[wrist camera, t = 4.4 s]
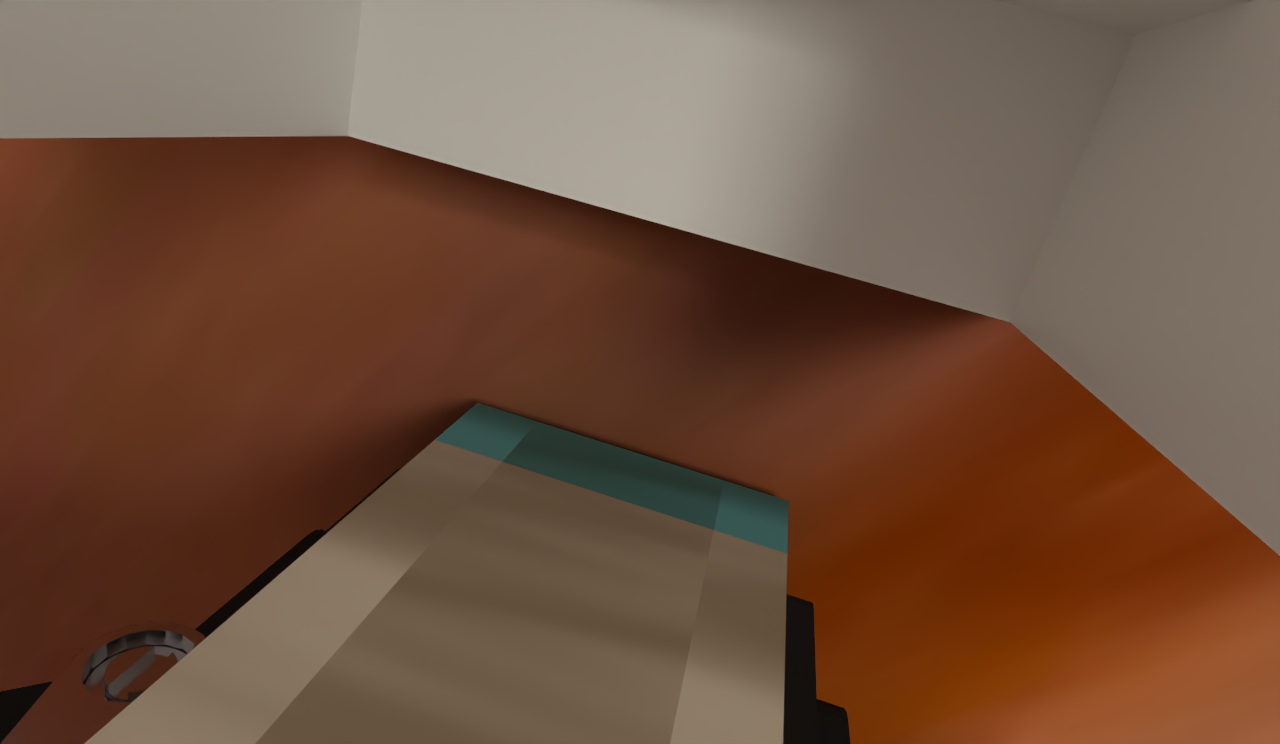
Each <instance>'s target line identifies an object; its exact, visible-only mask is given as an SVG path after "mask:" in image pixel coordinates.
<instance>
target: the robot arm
mask: <svg viewBox="0 0 1280 744" xmlns="http://www.w3.org/2000/svg"><path fill="white" fill-rule="evenodd" d="M400 469H402V468H400ZM400 469H398V470H396V471H395V472H394V473H393V474H392V475H391V476H389V477H388V478H387V479H386V480H385V481H384V482H382V483H381V484H380V485H379V486H378V487H377V488H375V489H374V490H373V491H372V492H371V493H370V494H368V495H367V496H366V497H365V498H364V499H363V500H362V501H360V502H359V503H358V504H357V505H356V506H355V507H353V508H352V509H351V510H350V511H349V512H348V513H346V514H345V515H344V516H343V517H342V518H341V519H339V520H338V521H337V522H336V523H335V524H334V525H333V526H331V527H330V528H329V529H328V530H327V531H325V530H315V531H313V532H312V533H310V534H309V535H307V536H306V537H305V538H304V539H303V540H301V541H300V542H299V543H298V544H297V545H295V546H294V547H293V548H292V549H291V550H289V551H288V552H287V553H286V554H285V555H283V556H282V557H281V558H280V559H279V560H277V561H276V562H275V563H274V564H273V565H271V566H270V567H269V568H268V569H267V570H266V571H264V572H263V573H262V574H261V575H260V576H258V577H257V578H256V579H255V580H254V581H252V582H251V583H250V584H249V585H248V586H246V587H245V588H244V589H243V590H242V591H240V592H239V593H238V594H237V595H236V596H234V597H233V598H232V599H231V600H230V601H229V602H227V603H226V604H225V605H224V606H223V607H221V608H220V609H219V610H218V611H217V612H215V613H214V614H213V615H212V616H211V617H209V618H208V619H207V620H206V621H205V622H203V623H202V624H201V625H200V626H199V627H197V628H196V629H193V628H191V627H189V626H185V625H181V624H177V623H173V622H146V623H140V624H133V625H129V626H126V627H123V628H120V629H117V630H114V631H111V632H108V633H106V634H104V635H103V636H101V637H99V638H97V639H95V640H94V641H92V642H90V643H89V644H87V645H86V646H85V647H84V648H83V649H82V650H81V651H80V652H79V653H77V654H76V655H75V656H74V657H73V658H72V660H71V661H70V662H69V663H68V664H67V666H66V667H65V668H64V669H63V670H62V671H61V673H60V674H59V675H58V676H57V677H56V679H55V680H54V681H52V682H47V683H42V684H37V685H32V686H27V687H22V688H17V689H12V690H7V691H2V692H0V744H84V743H86V742H87V741H88V740H89V739H90V738H91V737H93V736H94V735H95V734H96V733H97V732H98V731H99V730H101V729H102V728H103V727H104V726H105V725H106V724H108V723H109V722H110V721H111V720H112V719H113V718H114V717H116V716H117V715H118V714H119V713H120V712H121V711H123V710H124V709H125V708H126V707H127V706H128V705H129V704H131V703H132V702H133V701H134V700H135V699H136V698H138V697H139V696H140V695H141V694H142V693H143V692H144V691H146V690H147V689H148V688H149V687H150V686H151V685H153V684H154V683H155V682H156V681H157V680H158V679H159V678H161V677H162V676H163V675H164V674H165V673H166V672H167V671H169V670H170V669H171V668H172V667H173V666H174V665H176V664H177V663H178V662H179V661H180V660H181V659H182V658H184V657H185V656H186V655H187V654H188V653H189V652H191V651H192V650H193V649H194V648H195V647H196V646H197V645H199V644H200V643H201V642H202V641H203V640H204V639H206V638H207V637H208V636H209V635H210V634H211V633H212V632H214V631H215V630H216V629H217V628H218V627H219V626H221V625H222V624H223V623H224V622H225V621H226V620H227V619H229V618H230V617H231V616H232V615H233V614H234V613H236V612H237V611H238V610H239V609H240V608H241V607H242V606H244V605H245V604H246V603H247V602H248V601H249V600H251V599H252V598H253V597H254V596H255V595H256V594H257V593H259V592H260V591H261V590H262V589H263V588H264V587H265V586H267V585H268V584H269V583H270V582H271V581H272V580H274V579H275V578H276V577H277V576H278V575H279V574H280V573H282V572H283V571H284V570H285V569H286V568H287V567H289V566H290V565H291V564H292V563H293V562H294V561H295V560H297V559H298V558H299V557H300V556H301V555H302V554H304V553H305V552H306V551H307V550H308V549H309V548H310V547H312V546H313V545H314V544H315V543H316V542H317V541H319V540H320V539H321V538H322V537H323V536H324V535H325V534H327V533H328V532H329V531H330V530H331V529H332V528H334V527H335V526H336V525H337V524H338V523H339V522H340V521H342V520H343V519H344V518H345V517H346V516H347V515H349V514H350V513H351V512H352V511H353V510H354V509H355V508H357V507H358V506H359V505H360V504H361V503H362V502H363V501H365V500H366V499H367V498H368V497H369V496H370V495H372V494H373V493H374V492H375V491H376V490H377V489H378V488H380V487H381V486H382V485H383V484H384V483H385V482H387V481H388V480H389V479H390V478H391V477H392V476H393V475H395V474H396V473H397V472H398V471H399V470H400ZM783 744H850V737H849V725H848V718H847V712H846V711H845V709H844V708H841V707H839V706H836V705H833V704H830V703H827V702H824V701H821V700H818V699H816V671H815V639H814V608H813V604H812V603H811V602H809V601H805V600H802V599H799V598H796V597H793V596H790V595H787V594H786V636H785V680H784V724H783Z"/></svg>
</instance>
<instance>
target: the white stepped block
mask: <svg viewBox="0 0 1280 744" xmlns="http://www.w3.org/2000/svg"><path fill="white" fill-rule="evenodd" d="M272 136H350V137H353V138H357V139H360V140H364V141H367V142H371V143H374V144H378V145H382V146H385V147H389V148H392V149H396V150H399V151H403V152H406V153H410V154H414V155H417V156H421V157H424V158H428V159H431V160H435V161H438V162H442V163H445V164H449V165H453V166H456V167H460V168H463V169H467V170H470V171H474V172H477V173H481V174H485V175H488V176H492V177H495V178H499V179H502V180H506V181H509V182H513V183H517V184H520V185H524V186H527V187H531V188H534V189H538V190H541V191H545V192H549V193H552V194H556V195H559V196H563V197H566V198H570V199H573V200H577V201H581V202H584V203H588V204H591V205H595V206H598V207H602V208H605V209H609V210H613V211H616V212H620V213H623V214H627V215H630V216H634V217H637V218H641V219H645V220H648V221H652V222H655V223H659V224H662V225H666V226H669V227H673V228H676V229H680V230H684V231H687V232H691V233H694V234H698V235H701V236H705V237H708V238H712V239H716V240H719V241H723V242H726V243H730V244H733V245H737V246H740V247H744V248H748V249H751V250H755V251H758V252H762V253H765V254H769V255H772V256H776V257H780V258H783V259H787V260H790V261H794V262H797V263H801V264H804V265H808V266H812V267H815V268H819V269H822V270H826V271H829V272H833V273H836V274H840V275H844V276H847V277H851V278H854V279H858V280H861V281H865V282H868V283H872V284H876V285H879V286H883V287H886V288H890V289H893V290H897V291H900V292H904V293H907V294H911V295H915V296H918V297H922V298H925V299H929V300H932V301H936V302H939V303H943V304H947V305H950V306H954V307H957V308H961V309H964V310H968V311H971V312H975V313H979V314H982V315H986V316H989V317H993V318H996V319H1000V320H1003V321H1007V322H1010V323H1011V324H1013V325H1014V326H1015V327H1016V328H1017V329H1018V330H1019V331H1021V332H1022V333H1023V334H1024V335H1025V336H1026V337H1028V338H1029V339H1030V340H1031V341H1032V342H1033V343H1035V344H1036V345H1037V346H1038V347H1039V348H1040V349H1041V350H1043V351H1044V352H1045V353H1046V354H1047V355H1048V356H1050V357H1051V358H1052V359H1053V360H1054V361H1055V362H1056V363H1058V364H1059V365H1060V366H1061V367H1062V368H1063V369H1065V370H1066V371H1067V372H1068V373H1069V374H1070V375H1071V376H1073V377H1074V378H1075V379H1076V380H1077V381H1078V382H1080V383H1081V384H1082V385H1083V386H1084V387H1085V388H1087V389H1088V390H1089V391H1090V392H1091V393H1092V394H1093V395H1095V396H1096V397H1097V398H1098V399H1099V400H1100V401H1102V402H1103V403H1104V404H1105V405H1106V406H1107V407H1108V408H1110V409H1111V410H1112V411H1113V412H1114V413H1115V414H1117V415H1118V416H1119V417H1120V418H1121V419H1122V420H1123V421H1125V422H1126V423H1127V424H1128V425H1129V426H1130V427H1132V428H1133V429H1134V430H1135V431H1136V432H1137V433H1139V434H1140V435H1141V436H1142V437H1143V438H1144V439H1145V440H1147V441H1148V442H1149V443H1150V444H1151V445H1152V446H1154V447H1155V448H1156V449H1157V450H1158V451H1159V452H1160V453H1162V454H1163V455H1164V456H1165V457H1166V458H1167V459H1169V460H1170V461H1171V462H1172V463H1173V464H1174V465H1175V466H1177V467H1178V468H1179V469H1180V470H1181V471H1182V472H1184V473H1185V474H1186V475H1187V476H1188V477H1189V478H1191V479H1192V480H1193V481H1194V482H1195V483H1196V484H1197V485H1199V486H1200V487H1201V488H1202V489H1203V490H1204V491H1206V492H1207V493H1208V494H1209V495H1210V496H1211V497H1212V498H1214V499H1215V500H1216V501H1217V502H1218V503H1219V504H1221V505H1222V506H1223V507H1224V508H1225V509H1226V510H1227V511H1229V512H1230V513H1231V514H1232V515H1233V516H1234V517H1236V518H1237V519H1238V520H1239V521H1240V522H1241V523H1243V524H1244V525H1245V526H1246V527H1247V528H1248V529H1249V530H1251V531H1252V532H1253V533H1254V534H1255V535H1256V536H1258V537H1259V538H1260V539H1261V540H1262V541H1263V542H1264V543H1266V544H1267V545H1268V546H1269V547H1270V548H1271V549H1273V550H1274V551H1275V552H1276V553H1277V554H1278V555H1279V556H1280V0H0V138H132V137H272Z"/></svg>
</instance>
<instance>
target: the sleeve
mask: <svg viewBox="0 0 1280 744" xmlns="http://www.w3.org/2000/svg"><path fill="white" fill-rule="evenodd" d="M788 504H789V501H787V500H784V499H781V498H778V497H775V496H771V495H768V494H765V493H762V492H759V491H756V490H752V489H749V488H746V487H743V486H740V485H737V484H733V483H730V482H727V481H724V480H721V479H718V478H714V477H711V476H708V475H705V474H702V473H699V472H695V471H692V470H689V469H686V468H683V467H680V466H676V465H673V464H670V463H667V462H664V461H661V460H657V459H654V458H651V457H648V456H645V455H642V454H638V453H635V452H632V451H629V450H626V449H623V448H620V447H616V446H613V445H610V444H607V443H604V442H601V441H597V440H594V439H591V438H588V437H585V436H582V435H578V434H575V433H572V432H569V431H566V430H563V429H559V428H556V427H553V426H550V425H547V424H544V423H540V422H537V421H534V420H531V419H528V418H525V417H521V416H518V415H515V414H512V413H509V412H506V411H502V410H499V409H496V408H493V407H490V406H487V405H483V404H480V403H476V404H475V405H474V406H473V407H472V408H471V409H470V410H468V411H467V412H466V413H465V414H464V415H463V416H461V417H460V418H459V419H458V420H457V421H456V422H455V423H453V424H452V425H451V426H450V427H449V428H448V429H446V430H445V431H444V432H443V433H442V434H441V435H440V436H438V437H437V438H436V439H435V440H434V441H433V442H432V443H430V444H429V445H428V446H427V447H426V448H425V449H423V450H422V451H421V452H420V453H419V454H418V455H417V456H415V457H414V458H413V459H412V460H411V461H410V462H408V463H407V464H406V465H405V466H404V467H403V468H402V469H400V470H399V471H398V472H397V473H396V474H395V475H393V476H392V477H391V478H390V479H389V480H388V481H387V482H385V483H384V484H383V485H382V486H381V487H380V488H378V489H377V490H376V491H375V492H374V493H373V494H372V495H370V496H369V497H368V498H367V499H366V500H365V501H363V502H362V503H361V504H360V505H359V506H358V507H357V508H355V509H354V510H353V511H352V512H351V513H350V514H349V515H347V516H346V517H345V518H344V519H343V520H342V521H340V522H339V523H338V524H337V525H336V526H335V527H334V528H332V529H331V530H330V531H329V532H328V533H327V534H325V535H324V536H323V537H322V538H321V539H320V540H319V541H317V542H316V543H315V544H314V545H313V546H312V547H310V548H309V549H308V550H307V551H306V552H305V553H304V554H302V555H301V556H300V557H299V558H298V559H297V560H295V561H294V562H293V563H292V564H291V565H290V566H289V567H287V568H286V569H285V570H284V571H283V572H282V573H280V574H279V575H278V576H277V577H276V578H275V579H274V580H272V581H271V582H270V583H269V584H268V585H267V586H265V587H264V588H263V589H262V590H261V591H260V592H259V593H257V594H256V595H255V596H254V597H253V598H252V599H251V600H249V601H248V602H247V603H246V604H245V605H244V606H242V607H241V608H240V609H239V610H238V611H237V612H236V613H234V614H233V615H232V616H231V617H230V618H229V619H227V620H226V621H225V622H224V623H223V624H222V625H221V626H219V627H218V628H217V629H216V630H215V631H214V632H212V633H211V634H210V635H209V636H208V637H207V638H206V639H204V640H203V641H202V642H201V643H200V644H199V645H197V646H196V647H195V648H194V649H193V650H192V651H191V652H189V653H188V654H187V655H186V656H185V657H184V658H182V659H181V660H180V661H179V662H178V663H177V664H176V665H174V666H173V667H172V668H171V669H170V670H169V671H167V672H166V673H165V674H164V675H163V676H162V677H161V678H159V679H158V680H157V681H156V682H155V683H154V684H153V685H151V686H150V687H149V688H148V689H147V690H146V691H144V692H143V693H142V694H141V695H140V696H139V697H138V698H136V699H135V700H134V701H133V702H132V703H131V704H129V705H128V706H127V707H126V708H125V709H124V710H123V711H121V712H120V713H119V714H118V715H117V716H116V717H114V718H113V719H112V720H111V721H110V722H109V723H108V724H106V725H105V726H104V727H103V728H102V729H101V730H99V731H98V732H97V733H96V734H95V735H94V736H93V737H91V738H90V739H89V740H88V741H87V742H86V743H84V744H783V724H784V680H785V636H786V592H787V548H788Z"/></svg>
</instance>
